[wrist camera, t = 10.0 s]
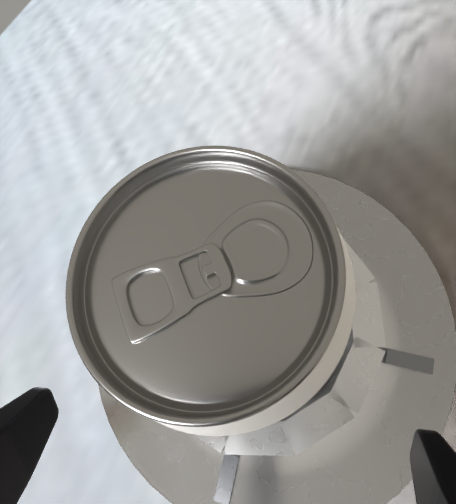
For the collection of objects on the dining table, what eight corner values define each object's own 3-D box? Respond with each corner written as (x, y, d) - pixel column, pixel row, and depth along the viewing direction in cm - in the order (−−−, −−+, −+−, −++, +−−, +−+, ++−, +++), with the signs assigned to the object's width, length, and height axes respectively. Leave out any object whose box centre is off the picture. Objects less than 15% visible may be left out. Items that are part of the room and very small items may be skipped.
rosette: (198, 616, 16) (169, 688, 12) (57, 280, 22) (11, 263, 19) (543, 394, 16) (613, 401, 13) (306, 122, 22) (308, 76, 19)
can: (349, 365, 17) (449, 362, 6) (224, 420, 17) (89, 519, 6) (289, 247, 19) (277, 81, 8) (179, 298, 20) (19, 204, 8)
